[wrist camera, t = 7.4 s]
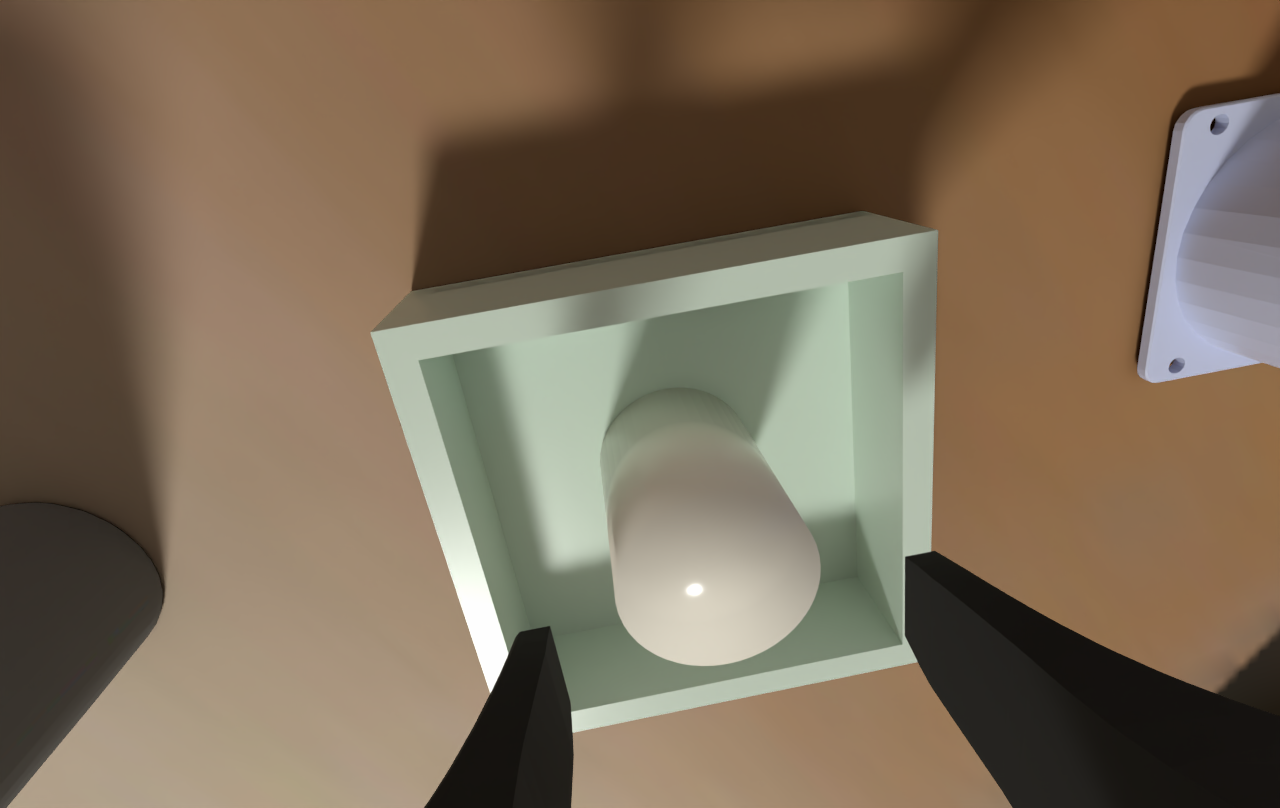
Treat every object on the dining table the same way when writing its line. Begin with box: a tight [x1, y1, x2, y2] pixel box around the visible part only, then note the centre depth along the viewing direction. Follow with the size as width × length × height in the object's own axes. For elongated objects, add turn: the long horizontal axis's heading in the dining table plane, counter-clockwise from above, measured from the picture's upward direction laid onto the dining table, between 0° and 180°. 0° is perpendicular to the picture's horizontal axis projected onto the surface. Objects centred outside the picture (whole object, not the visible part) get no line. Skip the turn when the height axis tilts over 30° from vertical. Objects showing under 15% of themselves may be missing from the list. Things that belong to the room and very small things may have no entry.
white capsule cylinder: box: [600, 388, 821, 666], centre depth 17 cm, size 4×4×6 cm
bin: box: [370, 211, 938, 733], centre depth 19 cm, size 13×13×4 cm
